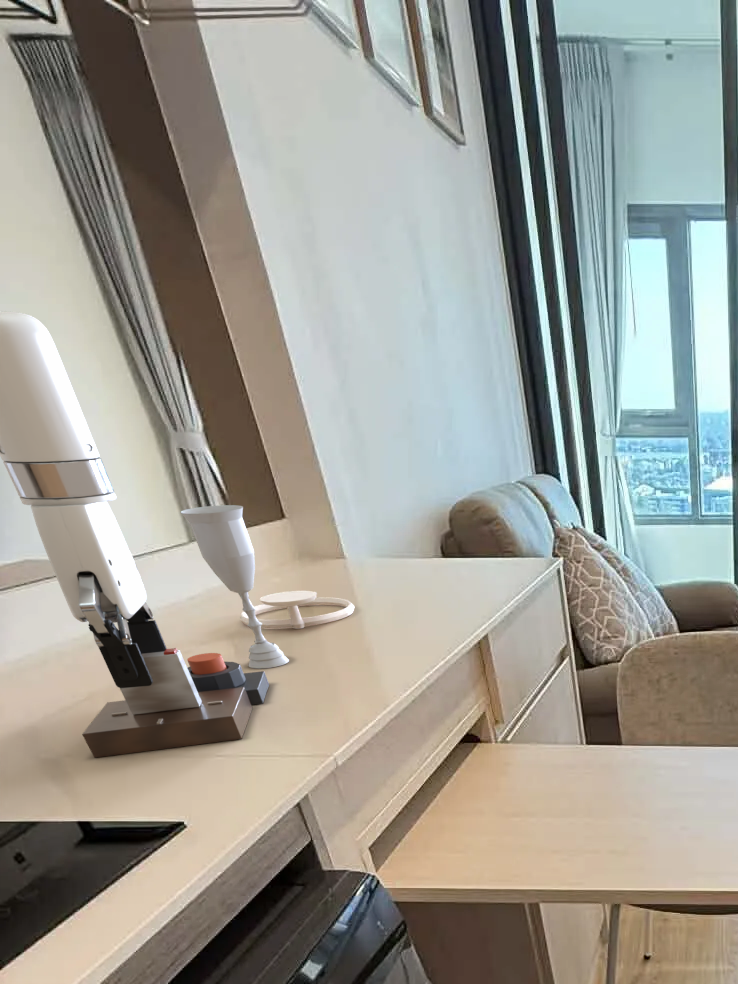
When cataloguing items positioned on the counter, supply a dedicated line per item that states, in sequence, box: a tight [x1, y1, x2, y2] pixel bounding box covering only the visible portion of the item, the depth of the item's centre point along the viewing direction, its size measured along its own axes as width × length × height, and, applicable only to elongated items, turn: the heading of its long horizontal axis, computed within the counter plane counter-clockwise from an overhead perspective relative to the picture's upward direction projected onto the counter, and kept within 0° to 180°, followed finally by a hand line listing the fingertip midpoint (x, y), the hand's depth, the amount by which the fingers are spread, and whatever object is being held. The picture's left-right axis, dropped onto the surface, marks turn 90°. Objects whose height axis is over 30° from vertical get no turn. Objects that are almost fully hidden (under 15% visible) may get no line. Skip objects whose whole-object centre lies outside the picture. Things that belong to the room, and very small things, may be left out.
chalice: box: [180, 504, 290, 669], centre depth 109 cm, size 7×7×18 cm
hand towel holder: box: [239, 590, 355, 630], centre depth 133 cm, size 17×4×21 cm
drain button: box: [186, 652, 227, 675], centre depth 100 cm, size 4×4×2 cm
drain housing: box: [187, 661, 270, 706], centre depth 101 cm, size 10×8×4 cm
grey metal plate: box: [119, 647, 202, 715], centre depth 90 cm, size 6×2×6 cm, turn 111°
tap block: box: [81, 687, 253, 758], centre depth 93 cm, size 14×11×3 cm
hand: (145, 672), depth 89 cm, fingers open, 9 cm apart
